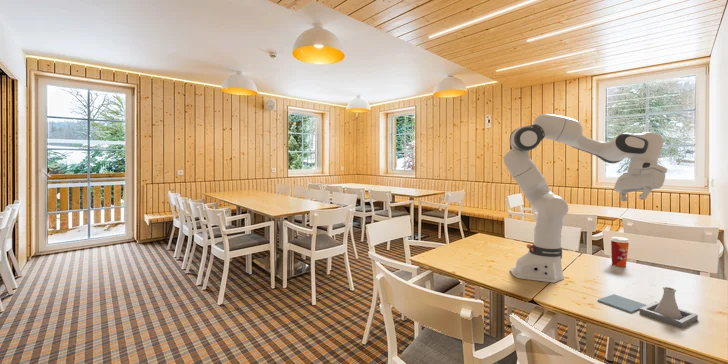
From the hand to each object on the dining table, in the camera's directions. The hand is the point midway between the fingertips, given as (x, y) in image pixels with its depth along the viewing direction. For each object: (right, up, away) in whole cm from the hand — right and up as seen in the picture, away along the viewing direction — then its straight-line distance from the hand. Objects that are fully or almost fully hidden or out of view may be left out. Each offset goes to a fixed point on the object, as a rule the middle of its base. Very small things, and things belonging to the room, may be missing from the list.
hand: (632, 200), depth 134 cm
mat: (-14, -39, -12) cm, 43 cm away
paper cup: (+19, -35, +31) cm, 50 cm away
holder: (-6, -39, -22) cm, 45 cm away
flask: (-6, -39, -22) cm, 45 cm away
